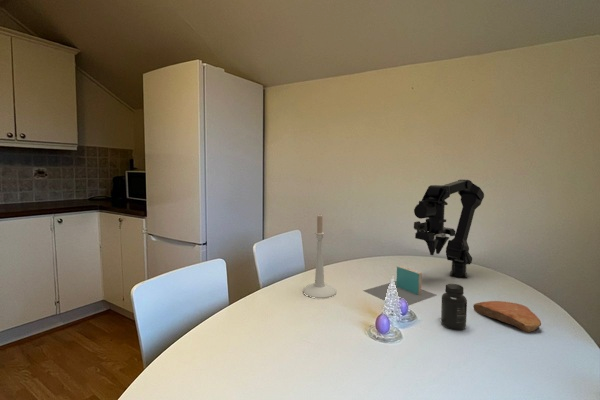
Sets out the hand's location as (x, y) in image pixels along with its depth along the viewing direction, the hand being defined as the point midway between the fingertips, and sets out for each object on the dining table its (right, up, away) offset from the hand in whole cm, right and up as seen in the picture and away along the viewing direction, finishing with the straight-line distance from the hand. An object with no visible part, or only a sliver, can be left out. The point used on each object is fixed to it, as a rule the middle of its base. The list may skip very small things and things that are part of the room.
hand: (434, 254), depth 127 cm
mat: (-18, -13, -10) cm, 24 cm away
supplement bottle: (-9, -16, -33) cm, 38 cm away
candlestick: (-48, -13, -8) cm, 50 cm away
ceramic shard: (+9, -16, -31) cm, 36 cm away
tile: (-14, -12, -8) cm, 20 cm away
